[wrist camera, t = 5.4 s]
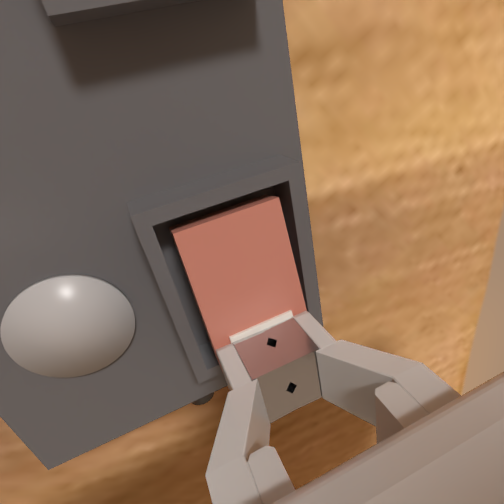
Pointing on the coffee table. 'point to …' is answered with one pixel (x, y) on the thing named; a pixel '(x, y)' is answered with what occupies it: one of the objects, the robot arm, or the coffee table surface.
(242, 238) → the rocker
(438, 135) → the coffee table surface
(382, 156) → the coffee table surface
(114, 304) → the rocker switch box
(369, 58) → the coffee table surface
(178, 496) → the coffee table surface
